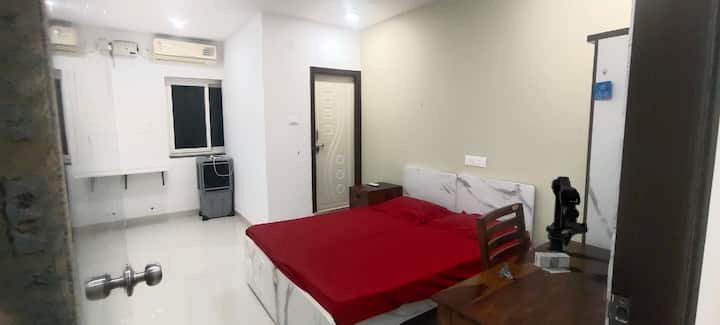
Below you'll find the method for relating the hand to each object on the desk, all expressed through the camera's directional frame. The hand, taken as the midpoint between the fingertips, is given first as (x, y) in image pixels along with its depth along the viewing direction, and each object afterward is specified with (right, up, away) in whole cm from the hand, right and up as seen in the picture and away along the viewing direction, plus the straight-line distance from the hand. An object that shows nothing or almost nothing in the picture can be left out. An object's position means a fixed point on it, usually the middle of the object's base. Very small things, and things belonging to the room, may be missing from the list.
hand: (565, 246), depth 171 cm
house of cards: (-36, -13, -11) cm, 40 cm away
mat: (-6, -11, +1) cm, 13 cm away
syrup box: (+2, -8, +2) cm, 8 cm away
